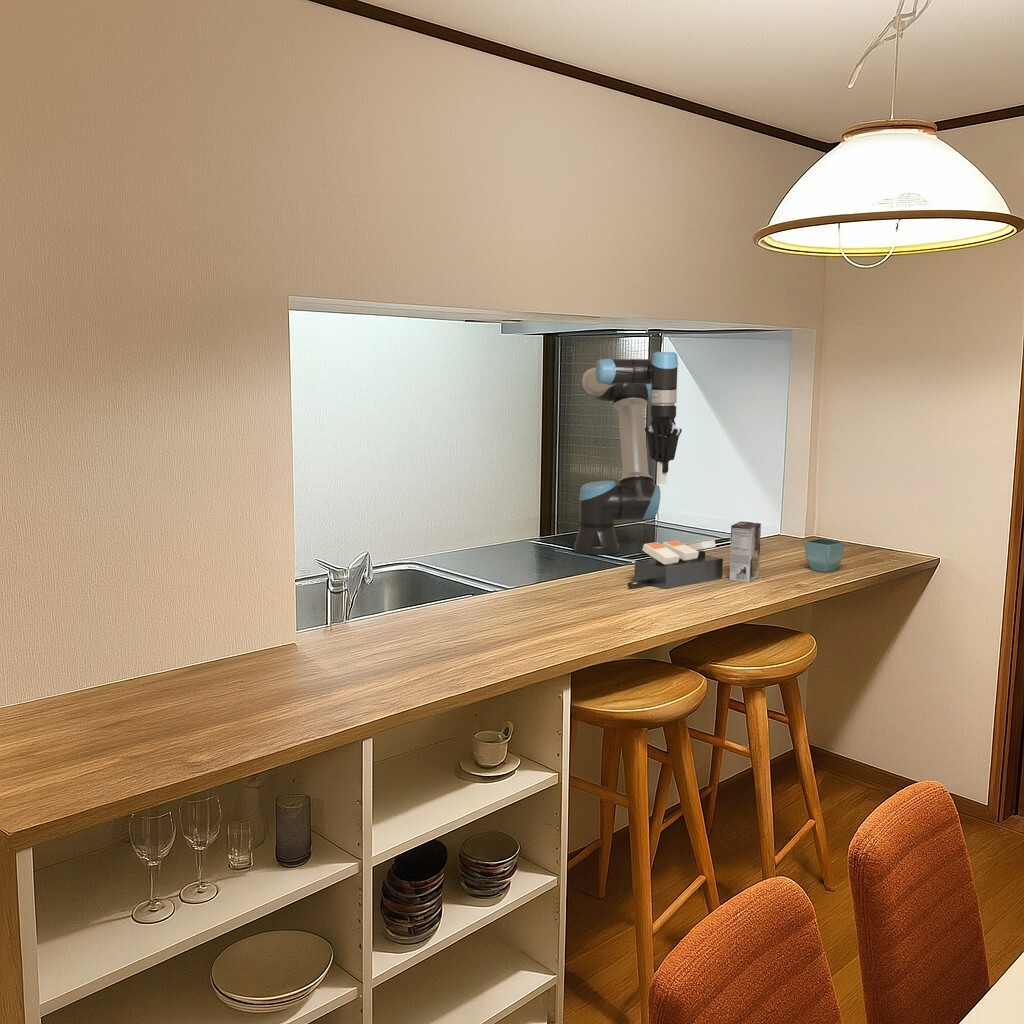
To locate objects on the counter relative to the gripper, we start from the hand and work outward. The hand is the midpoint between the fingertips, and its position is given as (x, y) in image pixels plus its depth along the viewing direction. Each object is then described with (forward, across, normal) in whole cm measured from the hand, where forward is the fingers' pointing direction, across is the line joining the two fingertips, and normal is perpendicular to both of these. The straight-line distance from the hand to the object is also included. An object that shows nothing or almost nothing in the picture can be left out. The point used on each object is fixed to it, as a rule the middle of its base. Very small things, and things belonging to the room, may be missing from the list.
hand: (661, 483), depth 294 cm
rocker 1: (+18, +15, -16) cm, 29 cm away
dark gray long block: (+26, +15, -12) cm, 33 cm away
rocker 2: (+18, +15, -8) cm, 25 cm away
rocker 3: (+18, +15, 0) cm, 24 cm away
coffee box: (+26, +25, +9) cm, 37 cm away
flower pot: (+27, +32, +38) cm, 56 cm away
